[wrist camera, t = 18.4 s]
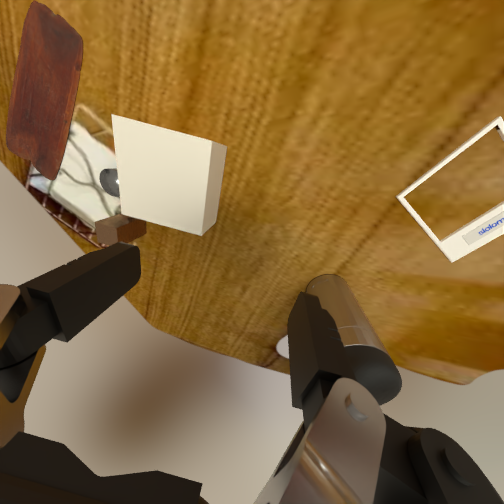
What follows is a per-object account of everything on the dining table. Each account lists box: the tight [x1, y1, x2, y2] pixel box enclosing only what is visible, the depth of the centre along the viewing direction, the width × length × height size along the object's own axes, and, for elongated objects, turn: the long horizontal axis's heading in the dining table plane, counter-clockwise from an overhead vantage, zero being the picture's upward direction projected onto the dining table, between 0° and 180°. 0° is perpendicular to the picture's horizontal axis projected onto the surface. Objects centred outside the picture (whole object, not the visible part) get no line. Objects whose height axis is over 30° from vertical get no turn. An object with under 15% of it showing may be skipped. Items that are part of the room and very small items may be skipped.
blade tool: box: [95, 214, 146, 246], centre depth 33 cm, size 18×4×8 cm, turn 166°
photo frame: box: [396, 116, 504, 262], centre depth 30 cm, size 15×1×18 cm
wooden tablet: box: [6, 0, 83, 180], centre depth 32 cm, size 27×10×2 cm, turn 139°
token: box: [100, 168, 120, 197], centre depth 35 cm, size 5×5×2 cm
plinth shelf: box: [112, 114, 227, 236], centre depth 31 cm, size 14×14×8 cm
